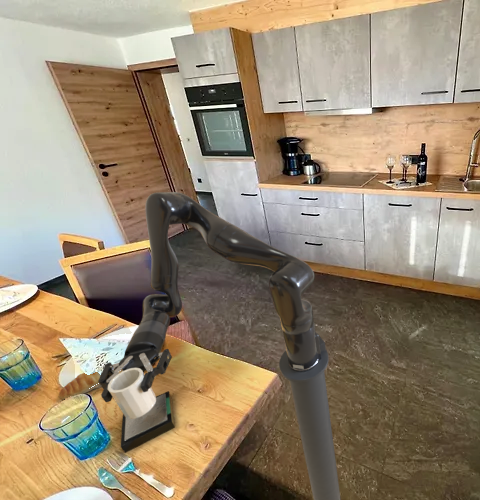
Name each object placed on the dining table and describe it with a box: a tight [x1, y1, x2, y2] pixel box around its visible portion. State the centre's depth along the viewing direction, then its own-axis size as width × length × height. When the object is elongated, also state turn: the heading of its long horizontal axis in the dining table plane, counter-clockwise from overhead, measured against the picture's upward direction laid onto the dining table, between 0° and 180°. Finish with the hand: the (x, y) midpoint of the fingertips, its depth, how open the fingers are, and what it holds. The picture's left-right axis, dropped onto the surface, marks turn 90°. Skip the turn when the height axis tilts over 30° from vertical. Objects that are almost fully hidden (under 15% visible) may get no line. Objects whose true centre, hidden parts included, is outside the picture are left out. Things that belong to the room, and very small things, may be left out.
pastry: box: [58, 372, 101, 400], centre depth 80 cm, size 9×7×4 cm
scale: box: [120, 390, 176, 454], centre depth 70 cm, size 10×10×3 cm
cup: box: [108, 368, 157, 419], centre depth 66 cm, size 6×6×9 cm
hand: (125, 394), depth 63 cm, fingers closed on cup, 6 cm apart
